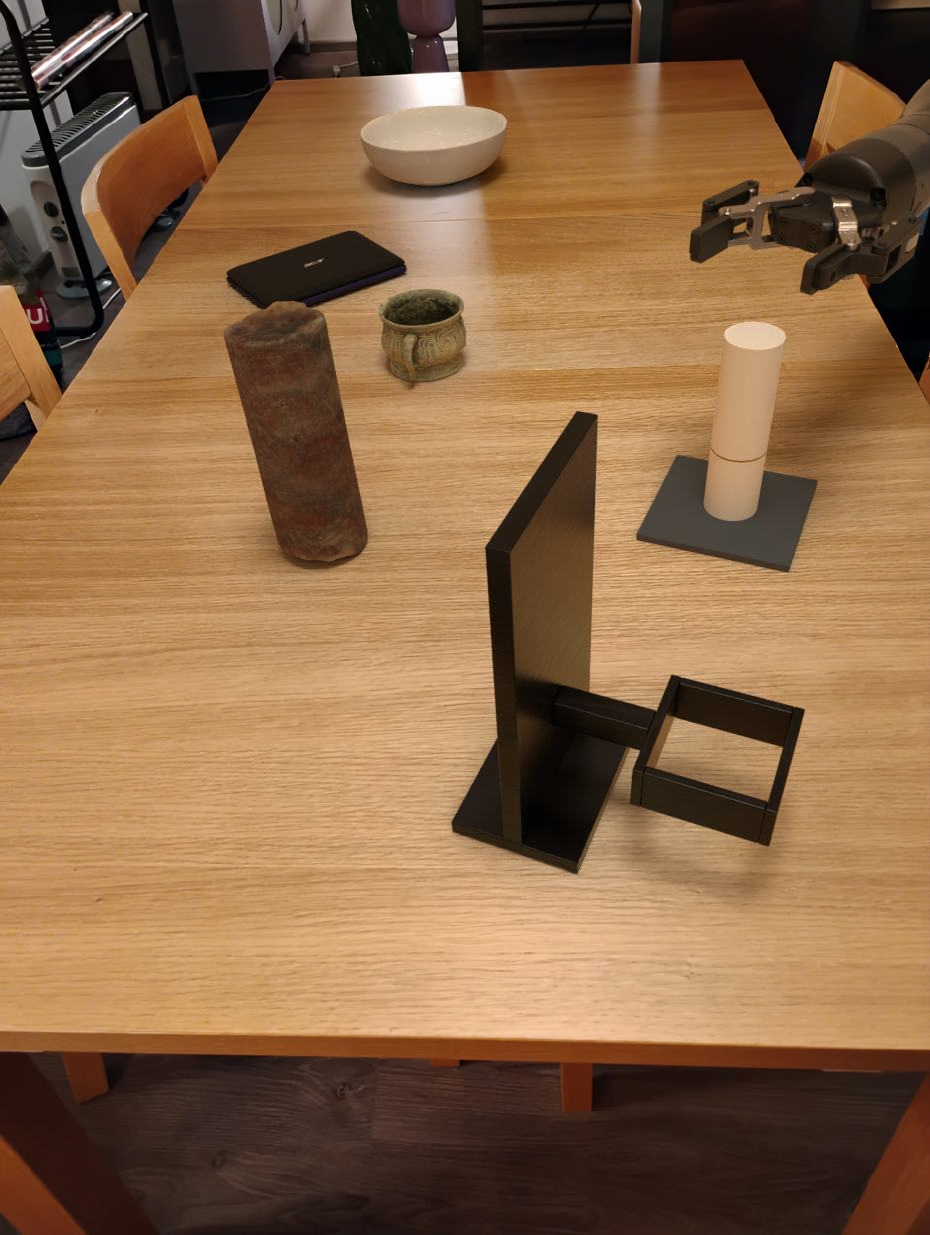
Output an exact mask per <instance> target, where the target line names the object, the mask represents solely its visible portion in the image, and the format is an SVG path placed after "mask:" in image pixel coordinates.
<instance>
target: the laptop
mask: <svg viewBox="0 0 930 1235" xmlns="http://www.w3.org/2000/svg"><path fill="white" fill-rule="evenodd" d="M405 263H406V262H405V260H404V259H403V258H402V257H400V256H398V255H397V254H395V253H394V252H392V251H391V250H389V249H387V248H386V247H384V246H382V245H380V244H379V243H377V242H376V241H374V240H372V239H370V238H369V237H367V236H365V235H364V234H362V233H360V232H358V231H357V230H345V231H342V232H339V233H336V234H333V235H330V236H326V237H323V238H321V239H317V240H314V241H311V242H307V243H305V244H302V245H298V246H296V247H292V248H289V249H287V250H283V251H280V252H276V253H274V254H271V255H268V256H267V255H266V256H264V257H261V258H259V259H255V260H251V261H249V262H245V263H242V264H239V265H237V266H234V267H233V268H230V269H228V270H227V271H226V276H227V277H226V278H225V280H226V282H227V283H228V284H229V285H230V286H231V287H232V288H234V289H235V290H236V291H238V292H239V293H240V294H241V295H243V296H244V297H246V298H247V300H250V301H251V302H252V303H253V304H255V305H256V306H257V307H259V308H261V310H264V309H266V308H268V307H269V306H270V305H271V304H272V303H274V302H277V301H280V302H283V301H295V302H299V303H305V305H306V307H310V306H312V305H315V304H318V303H320V302H323V301H326V300H328V299H332V298H335V297H338V296H341V295H344V294H347V293H349V292H352V291H355V290H358V289H361V288H364V287H366V286H369V285H372V284H374V283H378V282H381V281H384V280H386V279H389V278H392V277H395V276H398V275H401V274H405V273H406V272H407V264H405Z"/></svg>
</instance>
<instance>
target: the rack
mask: <svg viewBox="0 0 930 1235" xmlns="http://www.w3.org/2000/svg"><path fill="white" fill-rule="evenodd" d="M598 424H599V415H598V414H597V413H593V412H587V411H581V410H576V411H575V412H574V414H573V415H572V417H571V418H570V420H569V421H568V423H567V424H566V426H565V428H563V430H562V432H561V433H560V435H559V436H558V438H557V439H556V440H555V442H554V444H553V445H552V446H551V448H550V449H549V451H548V453H546V456H545V457H544V459H543V460H542V461H541V463H540V464H539V466H538V468H537V469H536V470H535V472H534V474H533V475H532V476H531V478H530V479H529V481H528V482H527V483H526V485H525V486H524V489H523V490H522V492H521V493H520V494H519V496H518V497H517V498H516V500H515V502H514V503H513V504H512V506H511V508H510V509H509V510H508V512H507V513H506V515H505V517H504V518H503V520H502V521H501V523H500V524H499V525H498V527H497V528H496V530H495V532H494V533H493V534H492V536H491V538H489V541H488V542H487V543H486V545H485V546H484V552H485V565H486V566H485V567H486V568H485V569H486V583H487V597H488V610H489V611H488V615H489V629H490V630H489V631H490V645H491V646H490V647H491V660H492V663H491V664H492V675H493V676H492V677H493V678H492V680H493V691H494V694H493V695H494V704H495V705H494V708H495V710H494V711H495V726H496V738H495V741H494V742H493V745H492V746H491V747H490V750H489V752H488V754H487V756H486V757H485V759H484V761H483V763H482V764H481V767H480V768H479V770H478V772H477V774H476V776H475V778H474V780H473V781H472V783H471V785H470V787H469V789H467V790H468V791H467V792H466V794H465V796H464V797H463V799H462V802H461V803H460V805H459V807H458V809H457V811H456V813H455V814H454V816H453V818H452V820H451V830H452V832H453V833H457V834H460V835H462V836H465V837H468V838H471V839H474V840H477V841H479V842H483V843H486V844H488V845H492V846H494V847H497V848H500V849H503V850H506V851H510V852H513V853H514V854H518V855H521V856H525V857H526V858H530V859H533V860H536V861H538V862H542V863H545V864H548V865H551V866H553V867H556V868H559V869H562V870H564V871H568V872H571V873H573V874H578V873H579V870H580V868H581V865H582V864H583V861H584V858H585V856H586V853H587V852H588V848H589V846H590V844H591V843H592V839H593V837H594V834H595V832H596V829H597V827H598V824H599V822H600V820H601V817H602V816H603V813H604V810H605V807H606V805H607V803H608V801H609V798H610V796H611V793H612V791H613V789H614V786H615V784H616V782H617V779H618V777H619V774H620V772H621V770H622V768H623V765H624V763H625V761H626V757H627V755H628V753H629V750H630V749H631V750H636V751H639V753H638V755H637V758H636V760H635V762H634V765H633V768H632V769H631V770H632V771H631V782H630V783H631V784H630V796H629V804H630V805H632V806H635V807H638V808H642V809H644V810H647V811H648V810H649V811H651V812H654V813H658V814H660V815H664V816H668V817H671V818H674V819H677V820H679V821H684V822H685V823H686V822H687V823H689V824H693V825H697V826H700V827H702V828H705V829H706V828H707V829H710V830H713V831H716V832H719V833H722V834H725V835H728V836H732V837H735V838H739V839H741V840H745V841H748V842H752V843H754V844H759V845H760V846H764V847H768V848H769V847H770V846H771V842H772V838H773V835H774V831H775V827H776V823H777V821H778V815H779V812H780V809H781V804H782V800H783V797H784V793H785V789H786V786H787V783H788V778H789V774H790V771H791V768H792V763H793V760H794V756H795V752H796V748H797V745H798V742H799V737H800V732H801V728H802V724H803V721H804V717H805V713H806V709H805V708H802V707H798V706H794V705H791V704H788V703H783V702H779V701H775V700H771V699H768V698H764V697H760V696H756V695H752V694H748V693H745V692H740V691H737V690H733V689H730V688H727V687H726V688H725V687H721V686H718V685H714V684H710V683H706V682H703V681H699V680H695V679H692V678H691V679H690V678H687V677H682V676H681V675H676V674H670V677H669V678H668V681H667V683H666V686H665V689H664V691H663V694H662V696H661V698H660V701H659V704H658V707H657V709H653V708H649V707H645V706H641V705H638V704H635V703H630V702H627V701H624V700H621V699H616V698H612V697H610V696H605V695H602V694H599V693H595V692H591V690H590V688H591V686H590V685H591V653H592V619H593V594H594V593H593V592H594V591H593V590H594V589H593V587H594V560H595V559H594V558H595V556H594V554H595V528H596V527H595V524H596V522H595V521H596V494H597V493H596V490H597V489H596V488H597V462H598V461H597V458H598V457H597V456H598V427H599V425H598ZM675 719H678V720H681V721H685V722H689V723H692V724H695V725H699V726H703V727H707V728H711V729H714V730H718V731H721V732H725V733H729V734H733V735H735V736H738V737H739V736H740V737H744V738H747V739H750V740H755V741H758V742H761V743H765V744H769V745H773V746H776V747H780V748H782V749H781V753H780V757H779V759H778V764H777V767H776V771H775V775H774V778H773V782H772V786H771V788H770V793H769V796H768V800H765V799H761V798H757V797H754V796H751V795H748V794H744V793H740V792H738V791H733V790H731V789H727V788H724V787H720V786H717V785H713V784H710V783H706V782H703V781H699V780H696V779H693V778H689V777H686V776H683V775H679V774H677V773H673V772H669V771H666V770H662V769H659V768H656V767H657V765H658V762H659V759H660V757H661V755H662V752H663V749H664V746H665V744H666V741H667V738H668V736H669V733H670V731H671V728H672V726H673V723H674V720H675Z"/></svg>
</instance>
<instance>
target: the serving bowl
mask: <svg viewBox="0 0 930 1235" xmlns="http://www.w3.org/2000/svg"><path fill="white" fill-rule="evenodd" d="M507 131H508V120H507V118H506V117H505V116H504V115H503V114H501V113H499V112H498V111H495V110H493V109H490V108H489V109H488V108H485V107H478V106H472V105H471V106H470V105H451V104H450V105H448V104H447V105H430V106H419V107H412V108H407V109H402V110H397V111H393V112H389V113H387V114H383V115H381V116H378V117H375V118H374V119H372V120H370V121H368V122H367V123H366V124H365V125H364V126H363V127H362V128H361V130H360V132H359V137H360V142H361V146H362V149H363V151H364V154H365V156H366V158H367V160H368V161H369V163H370V164H371V166H373V167H374V169H376V171H378V173H380V174H381V175H383V176H385V177H387V178H388V179H390V180H393V181H396V182H399V183H404V184H410V185H417V186H423V187H438V186H439V187H440V186H446V185H451V184H454V183H458V182H460V181H464V180H467V179H469V178H472V177H474V176H477V175H479V174H481V173H482V172H484V171H485V170H487V169H488V168H489V167H491V166H492V165H493V163H495V161H497V159H498V157H499V156H500V154H501V153H502V151H503V148H504V146H505V142H506V137H507Z"/></svg>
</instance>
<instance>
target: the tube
mask: <svg viewBox="0 0 930 1235" xmlns="http://www.w3.org/2000/svg"><path fill="white" fill-rule="evenodd" d="M786 338H787V336H786V333H785V332H784V330H783V329H781V328H780V327H779V326H776V325H774V324H771V323H767V322H761V321H744V322H738V323H735V324H732V325H730V326H729V327H727V329H725V331H724V333H723V340H722V341H723V342H722V349H721V358H720V363H719V364H720V365H719V372H718V373H719V374H718V382H717V390H716V398H715V405H714V415H713V423H712V430H711V438H710V446H709V455H708V460H709V462H708V471H707V479H706V487H705V495H704V508H705V510H706V511H707V512H708V513H709V514H710V515H712V516H714V517H716V518H718V519H721V520H726V521H740V520H745V519H747V518H750V517H751V516H753V515H754V514H755V513H756V511H757V507H758V501H759V495H760V489H761V483H762V477H763V471H764V469H765V464H766V459H767V454H768V446H769V440H770V434H771V428H772V422H773V416H774V410H775V405H776V398H777V392H778V387H779V381H780V374H781V368H782V363H783V357H784V352H785V351H784V350H785V345H786Z"/></svg>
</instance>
